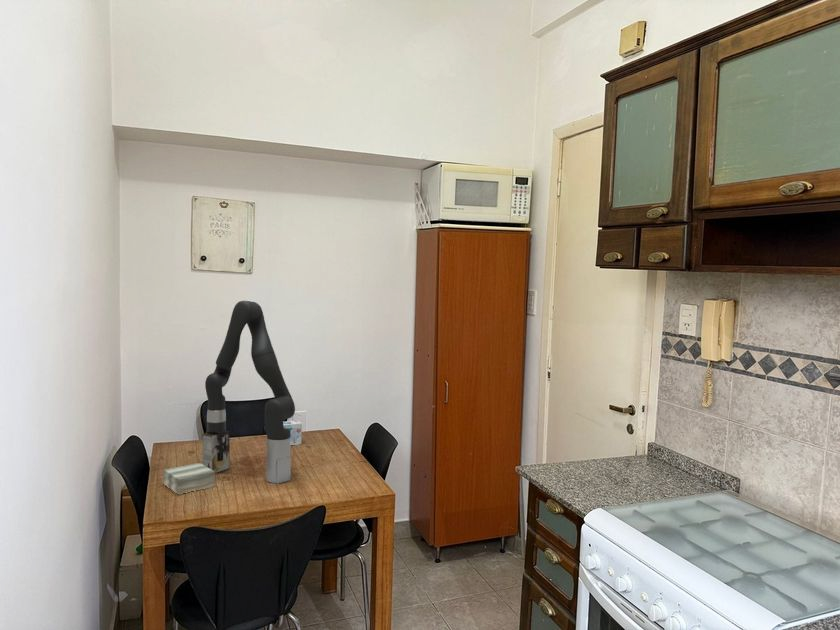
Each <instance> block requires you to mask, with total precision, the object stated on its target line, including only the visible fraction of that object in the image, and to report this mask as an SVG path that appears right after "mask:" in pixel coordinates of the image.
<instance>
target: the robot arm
mask: <svg viewBox="0 0 840 630" xmlns="http://www.w3.org/2000/svg"><path fill="white" fill-rule="evenodd" d="M245 326H247V327H248V330H249V332H250V335H251V348H250V349H251V350H250V356H251V360H252V363H253V366H254V369H255V371H256V373H257V374H258V375H259V377H260V378H262V380H264V382H265V383H266V384H267V385H268V386H269V388H270V390H271V392H272V393H273V396H274V398H271V399H269V400H268V401H267V402H266V403H265V406H264V429H265V433H266V477H265V479H266V481H267V482H269V483H273V484H282V483H286V482H290V481H291V479H292V477H291V476H292V475H291V474H292V458H291V446H290V435H291V433H290V430H289V429H287V428H284V427H283V422H284V421H285V420H288V419H291V418H292V417H294V415H295V412H296V406H295V402H294V400H293V397H292V395H291V393H290V391H289V390H290V389H288V386H287V384H286V381H285V379H284V377H283V373H282V371H281V368H280V366H279V362H278V359H277V355H276V352H275V350H274V348H273V344H272V342H271V339H270V336H269V333H268V329H267V326H266V321H265V315H264V312H263V309H262V306H261V305H260V304H259V303H258V302H256V301H251V300H250V301H249V300H240V301H238V302H237V303H236V304H235V305H234V307H233V308H232V312H231V317H230V321H229V325H228V328H227V332H226V335H225V339H224V342H223V343H222V346H221V348H220V351H219V353H218V355H217V357H216V361H215V365H216V367H215V369H214V372H213V373H209V375H207V377H206V378H205V384H204V385H205V388H204V389H205V394H206V397H207V410H206V411H207V413H206V432H205V433H207V432H210V433H215V434H217V435H218V441H219V440H220V441H219V442H220V444H219V445H217V446H216V447H217V451H218V452H217V460H218V461H223V452H224V451H226V443H227V438H226V437H223V434H222V433H223V431H227V413H226V397H225V395H224V394H223V388H224V387H225V386H227V384H228V382H229V379H230V378H231V374H232V371H233V369H232V368H233V367H234V364H235V363H236V361H237V358H238V356H239V351H240V346H241V345H240V344H241V335H242V332H243V330H244V329H245ZM223 446H224V447H223Z"/></svg>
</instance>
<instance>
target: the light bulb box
mask: <svg viewBox="0 0 840 630" xmlns="http://www.w3.org/2000/svg"><path fill="white" fill-rule="evenodd" d="M283 427H284V428H287V429H289V430H290V433H291V435H290V447H292V446H291V445H295V446H300V445H299V444H301V445H302V437H303V436H302V433H303V431H302V430H303V428H302V427H303V423H302V422H301V421H299V420H298V419H297V420H289V421H288V420H287V421H283Z"/></svg>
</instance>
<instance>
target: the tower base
mask: <svg viewBox="0 0 840 630" xmlns="http://www.w3.org/2000/svg"><path fill="white" fill-rule="evenodd" d="M215 474H216V473H215V471H213V470H211V469H209V468H208V467H206V466H204V465H203V463H200V462H195V463H190V464H185V465H181V466H175V467H171V468H165V469H163V485H166V486H167V487H168V488H167V487H166V486H165V487H166V488H167V489H169V488H170V489H171V490H173V491H174V492H176V493H177V494H182V493H186V494H188V493H187V492H190V493H192V492H191V491H194V492H197V491H196V490H199V491H201V489H203V490H206V488H207V489H211V488H215V485H216V484H215V482H216V479H215V478H216V476H215ZM170 489H169V490H170ZM171 490H170V491H171ZM173 491H172V492H173ZM174 492H173V493H174ZM176 493H175V494H176ZM177 494H176V495H177ZM182 495H183V494H182Z"/></svg>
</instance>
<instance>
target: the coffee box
mask: <svg viewBox="0 0 840 630" xmlns="http://www.w3.org/2000/svg"><path fill="white" fill-rule="evenodd" d="M206 432H207V431H206ZM206 432H203V433H202V436H201V437H202V465H204V466H206V467H208V468H209V469H211V470H213V471H215V474H217V473H219V472H222V471H223V472H224V471H226V470H228V469H230V468H231V467H230V465H231V464H230V461H231V460H230V459H231V458H230V457H231V456H230V452H231V451H230V447H231V446H230V443H231V442H230V441H231V440H230V439H231V438H230V436H231V435H230V431H227V430H225V431H223V433H222V434H223V437H226V438H227V443H226V451H224V452H223V461H218V460H217V452H218V451H217V447H216V446H217V445H219V444H220V442H219V441H220V440H219V441H218V435H217V434H215V433H210V432H207V433H206ZM223 447H224V446H223Z"/></svg>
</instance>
